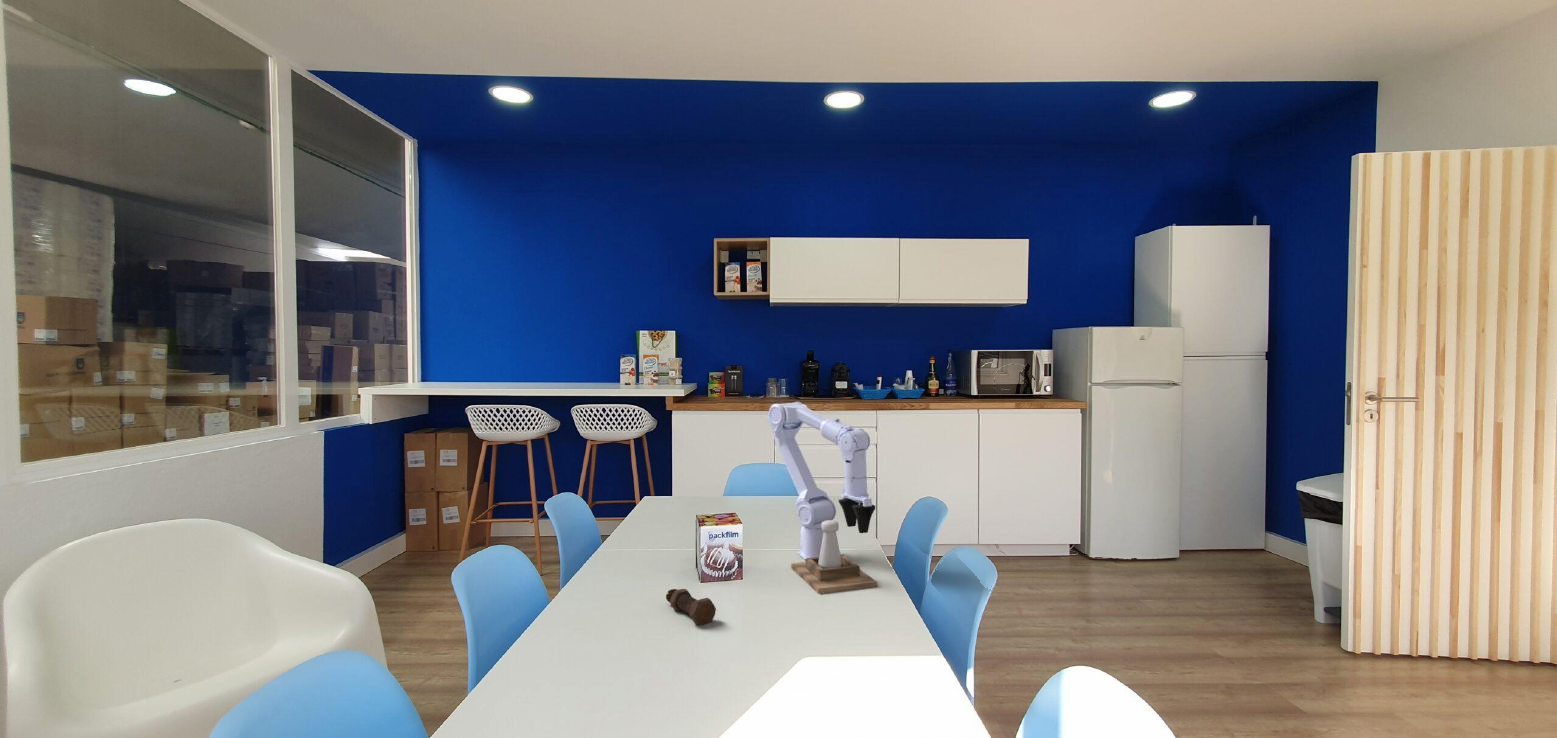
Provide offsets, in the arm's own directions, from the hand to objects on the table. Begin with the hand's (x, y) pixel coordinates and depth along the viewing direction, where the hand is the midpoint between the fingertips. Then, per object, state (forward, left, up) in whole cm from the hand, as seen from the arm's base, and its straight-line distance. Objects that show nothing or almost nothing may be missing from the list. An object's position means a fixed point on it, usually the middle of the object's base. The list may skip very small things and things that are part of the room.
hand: (857, 529), depth 177 cm
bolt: (+15, -47, -11) cm, 50 cm away
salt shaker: (+4, -9, -9) cm, 14 cm away
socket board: (+3, -8, -10) cm, 14 cm away
